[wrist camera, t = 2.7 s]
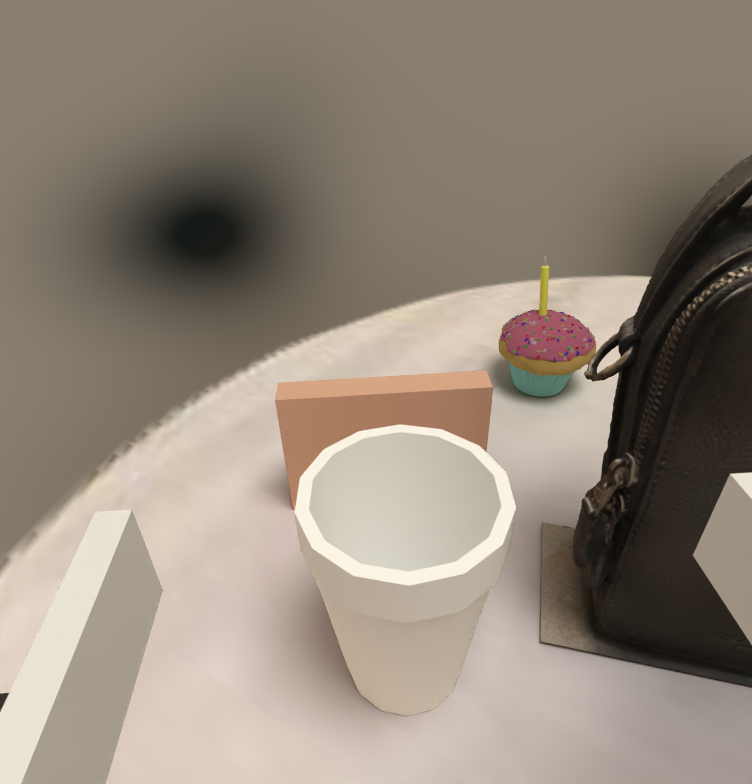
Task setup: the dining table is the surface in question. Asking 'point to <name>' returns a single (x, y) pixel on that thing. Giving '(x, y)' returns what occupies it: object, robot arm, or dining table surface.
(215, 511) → the dining table surface
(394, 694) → the foam cup
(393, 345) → the dining table surface
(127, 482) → the dining table surface
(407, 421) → the tile
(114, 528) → the robot arm
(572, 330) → the cupcake
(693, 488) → the shoulder bag
